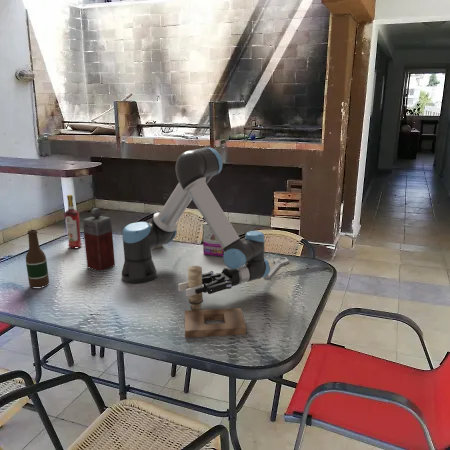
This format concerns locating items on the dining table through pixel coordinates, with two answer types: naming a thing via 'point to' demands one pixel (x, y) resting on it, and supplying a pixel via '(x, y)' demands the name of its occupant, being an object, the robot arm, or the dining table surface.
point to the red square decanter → (98, 241)
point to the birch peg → (194, 281)
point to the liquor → (72, 224)
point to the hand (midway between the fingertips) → (182, 290)
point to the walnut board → (230, 326)
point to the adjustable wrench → (276, 266)
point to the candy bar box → (211, 243)
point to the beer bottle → (36, 262)
